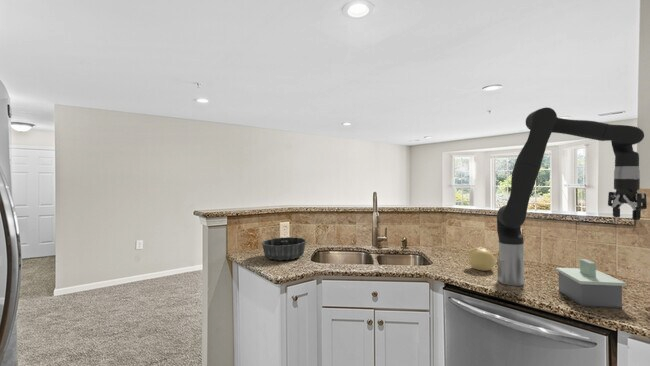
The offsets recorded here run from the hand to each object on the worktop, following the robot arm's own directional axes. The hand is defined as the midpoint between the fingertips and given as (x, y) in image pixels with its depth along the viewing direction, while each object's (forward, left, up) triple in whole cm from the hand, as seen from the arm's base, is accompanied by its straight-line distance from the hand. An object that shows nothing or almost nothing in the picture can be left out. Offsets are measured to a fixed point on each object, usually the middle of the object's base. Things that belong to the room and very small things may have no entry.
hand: (626, 218), depth 128 cm
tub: (-21, -15, -28) cm, 38 cm away
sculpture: (-48, +21, -28) cm, 60 cm away
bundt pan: (-155, +32, -28) cm, 161 cm away
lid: (-21, -15, -21) cm, 33 cm away
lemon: (-33, +37, -28) cm, 58 cm away
